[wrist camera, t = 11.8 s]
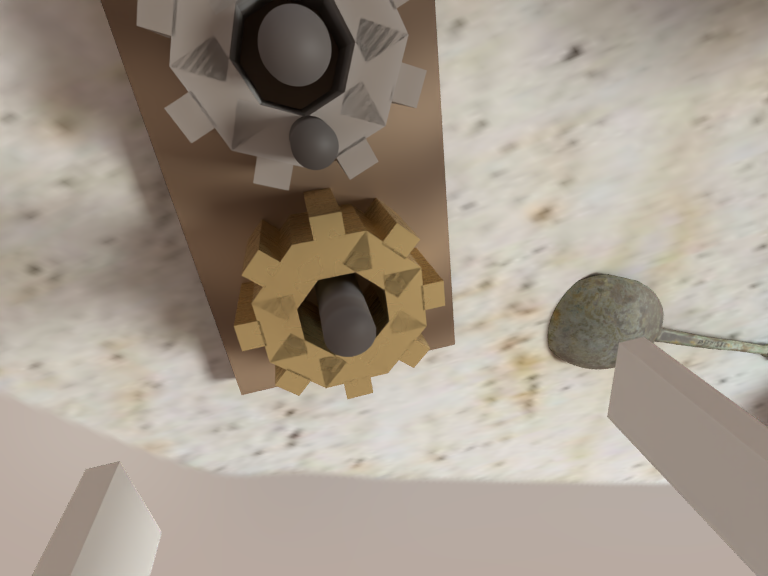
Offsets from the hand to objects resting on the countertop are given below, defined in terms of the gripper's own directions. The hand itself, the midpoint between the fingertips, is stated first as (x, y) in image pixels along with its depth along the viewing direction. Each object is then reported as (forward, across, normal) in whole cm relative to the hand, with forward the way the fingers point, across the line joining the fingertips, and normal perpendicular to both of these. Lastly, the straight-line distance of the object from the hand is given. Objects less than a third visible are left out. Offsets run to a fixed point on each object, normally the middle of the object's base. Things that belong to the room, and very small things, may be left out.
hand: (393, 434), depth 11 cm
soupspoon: (+14, +22, -11) cm, 28 cm away
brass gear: (+11, -1, 0) cm, 11 cm away
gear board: (+12, -1, +5) cm, 13 cm away
